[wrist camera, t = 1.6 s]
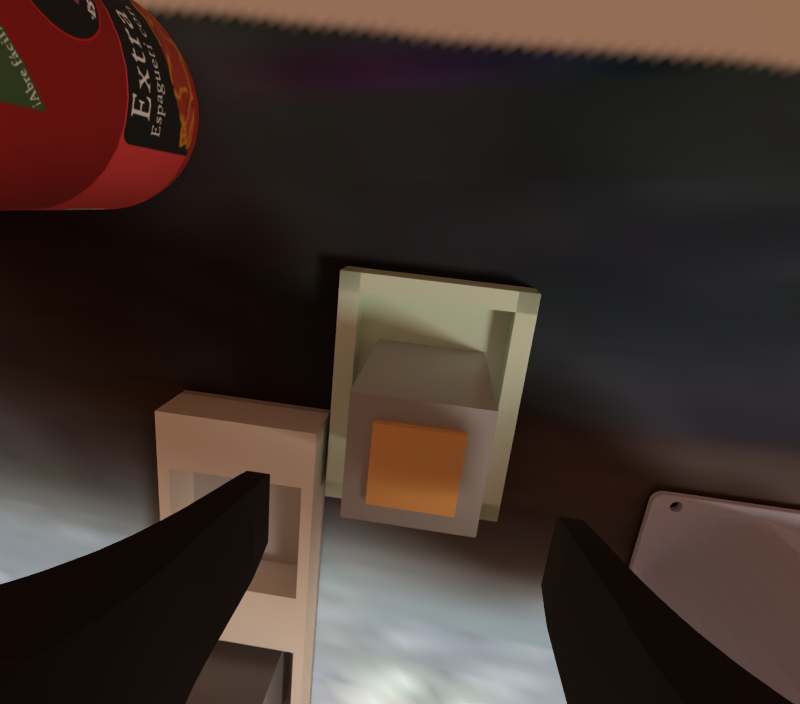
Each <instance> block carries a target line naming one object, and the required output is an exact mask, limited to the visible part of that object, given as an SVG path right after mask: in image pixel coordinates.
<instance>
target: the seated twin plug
mask: <svg viewBox="0 0 800 704" xmlns="http://www.w3.org/2000/svg"><path fill="white" fill-rule="evenodd" d="M289 669H290V652H286V651H280V650H274V649H268V648H262V647H257V646H251V645H245V644H239V643H234V642H228V641H222V640H218V642H217V644H216V645H215V647H214V649H213V651H212V652H211V654H210V656H209V658H208V659H207V661H206V663H205V665H204V667H203V669H202V671H201V672H200V674H199V676H198V678H197V680H196V682H195V684H194V686H193V688H192V691H191V693H190V695H189V697H188V699H187V702H186V704H284V702H285V699H286V696H287V693H288V690H289Z"/></svg>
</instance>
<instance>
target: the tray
mask: <svg viewBox="0 0 800 704" xmlns="http://www.w3.org/2000/svg"><path fill="white" fill-rule="evenodd" d="M540 298H541V293H539V292H538V291H537V290H536V289H535V288H529V287H521V286H513V285H504V284H496V283H487V282H479V281H471V280H462V279H454V278H445V277H437V276H429V275H420V274H412V273H403V272H395V271H387V270H378V269H370V268H361V267H353V266H347V267H345V268H343V269H341V270H340V280H339V295H338V310H337V325H336V340H335V354H334V369H333V384H332V399H331V414H330V429H329V443H328V458H327V473H326V488H325V496H328V497H335V498H342V487H343V474H344V462H345V449H346V436H347V424H348V411H349V399H350V391H351V389H352V387H353V385H354V383H355V381H356V380H357V378H358V376H359V374H360V372H361V370H362V369H363V367H364V365H365V363H366V361H367V359H368V358H369V356H370V354H371V352H372V350H373V348H374V346H375V345H376V343H377V341H378V339H383V340H391V341H399V342H406V343H414V344H422V345H430V346H438V347H445V348H453V349H461V350H469V351H477V352H484V353H485V357H486V361H487V365H488V369H489V374H490V378H491V382H492V386H493V390H494V394H495V399H496V403H497V407H498V411H499V412H498V418H497V423H496V429H495V434H494V440H493V445H492V451H491V456H490V462H489V467H488V473H487V479H486V484H485V490H484V495H483V501H482V506H481V512H480V517H479V519H481V520H488V521H494V522H497V520H498V515H499V509H500V504H501V499H502V494H503V489H504V484H505V478H506V473H507V468H508V463H509V458H510V453H511V448H512V442H513V437H514V432H515V427H516V422H517V417H518V411H519V406H520V401H521V396H522V391H523V386H524V380H525V375H526V370H527V365H528V360H529V355H530V349H531V344H532V339H533V334H534V329H535V324H536V319H537V313H538V308H539V303H540Z"/></svg>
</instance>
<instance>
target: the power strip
mask: <svg viewBox="0 0 800 704" xmlns="http://www.w3.org/2000/svg"><path fill="white" fill-rule="evenodd" d="M330 413H331V410H326V409H319V408H312V407H305V406H297V405H290V404H283V403H276V402H269V401H262V400H254V399H247V398H240V397H233V396H226V395H218V394H211V393H204V392H197V391H190V390H184V391H183V392H181V393H180V394H179V395H177V396H176V397H174V398H173V399H171V400H170V401H168V402H167V403H165V404H164V405H163V406H161V407H160V408H158V409H157V410H155V429H156V449H157V468H158V488H159V507H160V521H161V520H163V519H165V518H166V517H168V516H170V515H172V514H174V513H176V512H178V511H179V510H181V509H183V508H185V507H187V506H188V505H190V504H192V503H193V502H195V501H197V500H198V499H200V498H202V497H203V496H205V495H207V494H208V493H210V492H212V491H213V490H215V489H217V488H218V487H220V486H222V485H223V484H225V483H226V482H228V481H230V480H231V479H233V478H235V477H236V476H238V475H240V474H242V473H244V472H245V471H253V472H259V473H266V474H270V498H269V534H268V544H267V546H266V549H265V551H264V554H263V556H262V559H261V561H260V564H259V566H258V568H257V571H256V573H255V575H254V578H253V580H252V582H251V583H250V585H249V587H248V589H247V591H246V592H245V594H244V596H243V598H242V600H241V601H240V603H239V605H238V607H237V609H236V610H235V612H234V614H233V616H232V617H231V619H230V621H229V623H228V624H227V626H226V628H225V630H224V631H223V633H222V635H221V637H220V638H219V640H222V641H228V642H234V643H239V644H245V645H251V646H257V647H262V648H268V649H274V650H280V651H286V652H290V669H289V690H288V693H287V696H286V699H285V702H284V704H311V694H312V680H313V665H314V650H315V635H316V620H317V605H318V591H319V576H320V561H321V546H322V531H323V516H324V502H325V487H326V472H327V457H328V442H329V427H330Z"/></svg>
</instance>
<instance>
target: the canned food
mask: <svg viewBox="0 0 800 704" xmlns="http://www.w3.org/2000/svg"><path fill="white" fill-rule="evenodd" d="M198 125H199V114H198V100H197V95H196V90H195V85H194V81H193V79H192V76H191V74H190V71H189V69H188V66H187V64H186V62H185V60H184V58H183V57H182V55H181V53H180V52H179V50H178V49H177V47H176V45H175V44H174V42H173V41H172V39H171V37H170V36H169V34H168V33H167V32H166V30H165V29H164V28H163V27H162V26H161V25H160V24H159V22H158V21H157V20H156V19H155V18H154V17H153V16H152V15H151V14H150V13H149V12H147V11H146V10H145V9H144V8H142V7H141V6H140V5H139V4H137V3H136V2H135V1H133V0H0V211H23V210H112V209H119V208H126V207H131V206H133V205H136V204H139V203H141V202H144V201H146V200H148V199H150V198H152V197H153V196H155V195H157V194H158V193H160V192H161V191H163V190H164V189H166V188H167V187H169V186H170V185H171V184H172V183H173V181H174V180H175V179H176V178H177V177H178V176H179V175H180V174H181V172H182V171H183V169H184V168H185V166H186V164H187V163H188V161H189V159H190V157H191V154H192V151H193V148H194V146H195V143H196V137H197V131H198Z"/></svg>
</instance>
